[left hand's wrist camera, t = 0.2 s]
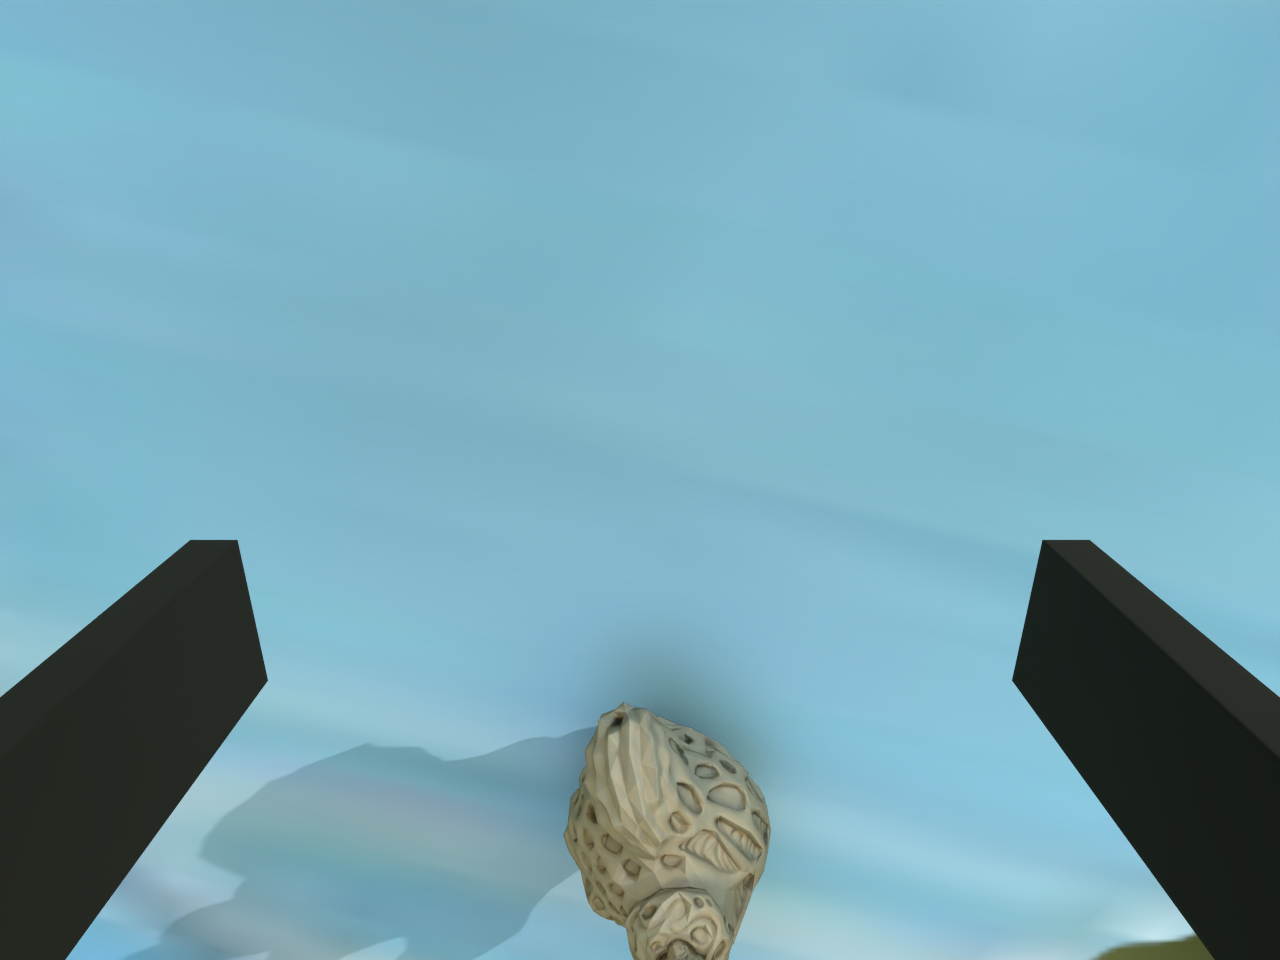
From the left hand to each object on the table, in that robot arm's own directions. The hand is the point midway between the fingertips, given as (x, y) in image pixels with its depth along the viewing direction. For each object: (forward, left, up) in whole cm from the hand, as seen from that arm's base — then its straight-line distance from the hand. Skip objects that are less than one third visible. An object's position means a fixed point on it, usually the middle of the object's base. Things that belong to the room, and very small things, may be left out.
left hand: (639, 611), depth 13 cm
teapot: (+29, +2, -28) cm, 40 cm away
